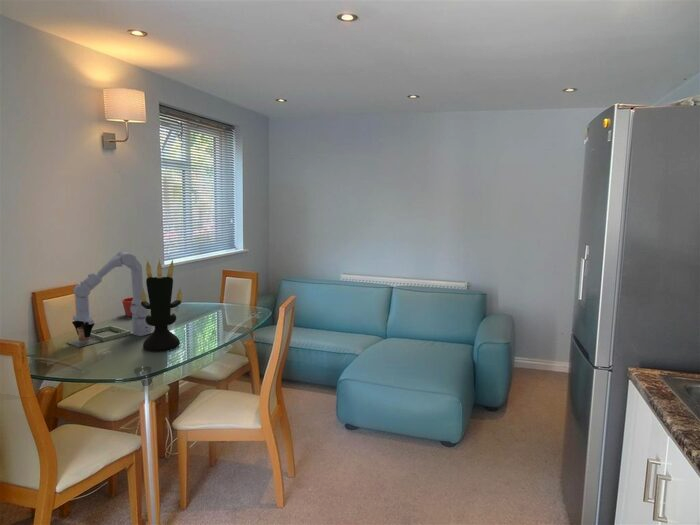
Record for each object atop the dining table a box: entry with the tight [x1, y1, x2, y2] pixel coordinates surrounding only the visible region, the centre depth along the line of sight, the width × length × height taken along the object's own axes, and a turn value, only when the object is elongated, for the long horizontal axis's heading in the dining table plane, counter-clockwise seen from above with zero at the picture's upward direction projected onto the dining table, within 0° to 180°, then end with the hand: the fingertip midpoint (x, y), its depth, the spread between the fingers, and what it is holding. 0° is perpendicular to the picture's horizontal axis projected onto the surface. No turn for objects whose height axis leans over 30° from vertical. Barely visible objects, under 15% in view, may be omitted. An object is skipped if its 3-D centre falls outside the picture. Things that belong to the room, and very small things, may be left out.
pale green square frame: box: [90, 325, 132, 342], centre depth 251 cm, size 17×15×2 cm
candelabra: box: [141, 259, 183, 353], centre depth 230 cm, size 19×22×45 cm
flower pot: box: [122, 297, 133, 317], centre depth 291 cm, size 11×11×10 cm
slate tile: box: [66, 337, 102, 349], centre depth 238 cm, size 11×11×1 cm
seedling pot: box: [76, 326, 91, 341], centre depth 238 cm, size 6×6×6 cm
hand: (83, 336), depth 238 cm, fingers closed on seedling pot, 6 cm apart
